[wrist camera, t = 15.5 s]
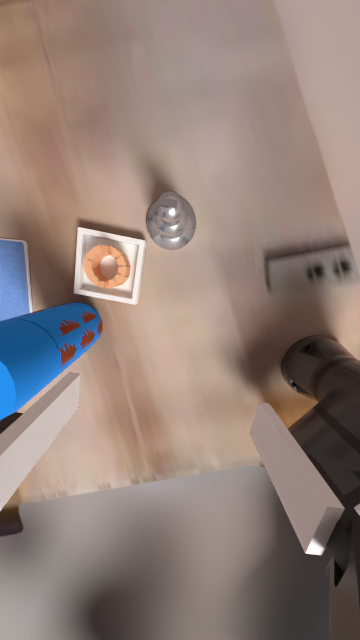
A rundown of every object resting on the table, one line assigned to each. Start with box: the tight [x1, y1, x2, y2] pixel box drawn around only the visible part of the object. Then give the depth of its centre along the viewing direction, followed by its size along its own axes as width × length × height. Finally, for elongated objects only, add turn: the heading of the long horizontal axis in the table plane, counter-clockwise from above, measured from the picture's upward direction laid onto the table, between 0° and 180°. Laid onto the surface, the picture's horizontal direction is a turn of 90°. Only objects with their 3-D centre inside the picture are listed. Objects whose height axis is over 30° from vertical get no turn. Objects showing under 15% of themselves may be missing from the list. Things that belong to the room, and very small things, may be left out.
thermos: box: [0, 302, 102, 420], centre depth 32 cm, size 11×11×25 cm
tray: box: [74, 227, 147, 304], centre depth 40 cm, size 13×13×2 cm
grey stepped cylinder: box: [147, 191, 196, 250], centre depth 34 cm, size 10×10×12 cm
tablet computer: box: [0, 238, 33, 321], centre depth 42 cm, size 19×13×1 cm, turn 175°
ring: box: [84, 245, 131, 289], centre depth 39 cm, size 8×8×5 cm
